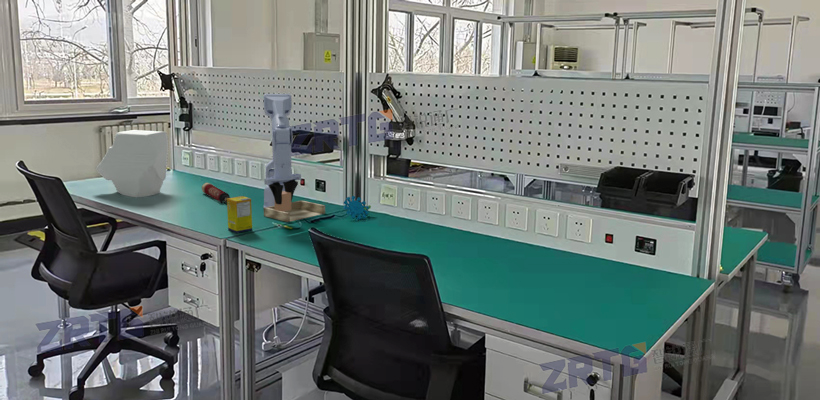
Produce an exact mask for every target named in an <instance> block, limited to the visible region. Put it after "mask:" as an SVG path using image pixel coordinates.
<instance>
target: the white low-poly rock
mask: <svg viewBox="0 0 820 400" xmlns="http://www.w3.org/2000/svg"><path fill="white" fill-rule="evenodd" d="M168 157H169V138H168V134H167V132H166V131H162V130H161V131H160V130H157V131H156V130H144V129H143V130H141V129H131V130H123V131H117V132H116V133H115V136H114V140H113V143H112V145H111V146H109V147H108V149H107V152H105V155H104V156H103V158H102V159H101V160H100V162H99V163H98V165H97V166H96V167H95V169H96V172H98V174H99V175H101V177H103V179H105V180H106V181H111V182H112V185H114V188H115V189H116V191H117V193H118V194H120V195H122V196H126V197H131V198H143V197H150V196H154V195H158V194H159V193H161V188H162V186H163V183H164V181H165V180H166V177H167V165H168V160H169V159H168Z"/></svg>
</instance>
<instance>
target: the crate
mask: <svg viewBox="0 0 820 400" xmlns="http://www.w3.org/2000/svg"><path fill="white" fill-rule="evenodd" d="M325 214H326V205H324V204H319V203H315V202H311V201H310V202H309V201H307V200H306V201H305V200H302V199H301V200H297V201H292V202H291V210H288V211H283V212H282V211H277V210H275V206H270V207H263V216H264V217H266V218H269V219H273V220H274V219H275V220H277V221H282V222H286V223H289V222H295V221H297V220H298V221H299V220H303V219H307V218H311V217H315V216H316V217H317V216H321V215H325Z"/></svg>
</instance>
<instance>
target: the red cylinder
mask: <svg viewBox="0 0 820 400" xmlns="http://www.w3.org/2000/svg"><path fill="white" fill-rule="evenodd" d="M201 191H202V193H204V194H206V195H208V196H209V197H211V198H212V199H214V200H216V201H218V202H220V203H222V204H223V203H224V204H227V198H231V197H230V194H229V193H228V192H226V191H223V190H222V189H221V188H218V187H217V186H215V185H214V184H212V183H209V182H205V183H203V185H201Z"/></svg>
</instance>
